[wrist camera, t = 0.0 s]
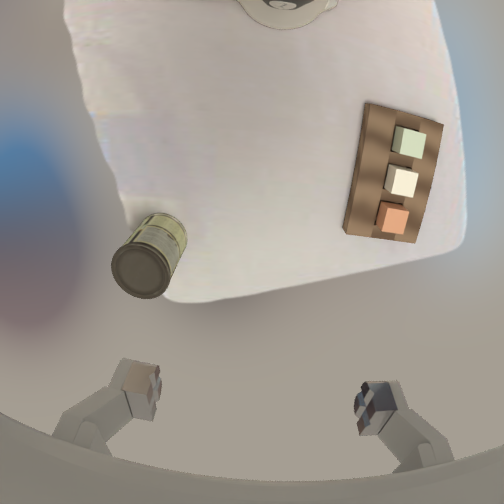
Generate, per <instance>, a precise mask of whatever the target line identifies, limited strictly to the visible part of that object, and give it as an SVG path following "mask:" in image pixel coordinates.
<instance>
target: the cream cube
mask: <svg viewBox="0 0 504 504" xmlns="http://www.w3.org/2000/svg"><path fill="white" fill-rule="evenodd" d="M417 178H418V173H417V172H415V171H413V170H411V169H409V168H404V167H400V166H396V165H391V164H389V167H388V171H387V176H386V181H385V186H384V188H385V189H386V190H388V191H389V192H390V193H391V194H397V195H402V196H407V197H412V198H413V195H414V191H415V187H416V183H417Z"/></svg>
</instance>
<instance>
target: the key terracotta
mask: <svg viewBox="0 0 504 504" xmlns="http://www.w3.org/2000/svg"><path fill="white" fill-rule="evenodd" d="M408 215H409V211H408V210H407V209H406V208H405V207H404V206H402V205H399V204H394V203H388V202H383V201H381V203H380V208H379V212H378V216H377V220H376V225H377V226H378V227H379V228H380V230H381V231H383V232H390V233H397V234H403V233H404V229H405V226H406V222H407V218H408Z"/></svg>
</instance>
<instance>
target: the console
mask: <svg viewBox="0 0 504 504" xmlns="http://www.w3.org/2000/svg"><path fill="white" fill-rule="evenodd" d="M396 126H398V127H402V128H406V129H409V130H413V131H416V132H420V133H423V134H426V140H425V145H424V150H423V155H422V159H419V158H416V157H412V156H407V155H403V154H399V153H397V152H395V151H393V150H392V146H393V140H394V135H395V129H396ZM443 126H444V124H441V123H438V122H435V121H431V120H428V119H425V118H422V117H419V116H415V115H412V114H408V113H405V112H401V111H398V110H394V109H390V108H386V107H382V106H378V105H374V104H368V103H365V109H364V115H363V122H362V128H361V135H360V141H359V147H358V153H357V158H356V164H355V169H354V175H353V180H352V185H351V190H350V195H349V200H348V205H347V210H346V214H345V219H344V223H343V230H344V231H345V233H346V234H349V235H357V236H364V237H372V238H379V239H387V240H394V241H401V242H408V243H415V242H416V239H417V236H418V233H419V229H420V226H421V222H422V219H423V215H424V212H425V208H426V204H427V200H428V197H429V193H430V189H431V184H432V180H433V176H434V172H435V167H436V162H437V158H438V153H439V148H440V143H441V137H442V132H443ZM389 164H391V165H396V166H400V167H404V168H409V169H411V170H413V171H415V172H417V173H418V178H417V183H416V187H415V191H414V195H413V198H412V197H407V196H402V195H397V194H391V193H390V192H389V191H388V190H386V189H385V188H384V186H385V181H386V176H387V171H388V167H389ZM381 201H383V202H388V203H394V204H399V205H402V206H404V207H405V208H406V209H407V210H408V211H409V215H408V218H407V222H406V226H405V229H404V233H403V234H397V233H390V232H383V231H381V230H380V228H379V227H378V226H377V225H376V220H377V216H378V212H379V208H380V203H381Z"/></svg>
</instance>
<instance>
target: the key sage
mask: <svg viewBox="0 0 504 504" xmlns="http://www.w3.org/2000/svg"><path fill="white" fill-rule="evenodd" d="M425 140H426V134H423V133H420V132H416V131H413V130H409V129H406V128H402V127H398V126H396V129H395V135H394V140H393V146H392V150H393V151H395V152H397V153H399V154H403V155H407V156H412V157H416V158H419V159H422V155H423V150H424V145H425Z"/></svg>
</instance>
